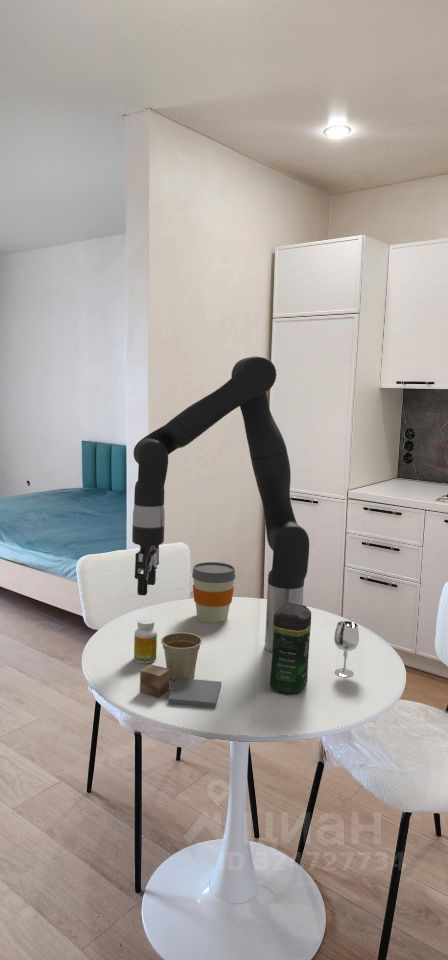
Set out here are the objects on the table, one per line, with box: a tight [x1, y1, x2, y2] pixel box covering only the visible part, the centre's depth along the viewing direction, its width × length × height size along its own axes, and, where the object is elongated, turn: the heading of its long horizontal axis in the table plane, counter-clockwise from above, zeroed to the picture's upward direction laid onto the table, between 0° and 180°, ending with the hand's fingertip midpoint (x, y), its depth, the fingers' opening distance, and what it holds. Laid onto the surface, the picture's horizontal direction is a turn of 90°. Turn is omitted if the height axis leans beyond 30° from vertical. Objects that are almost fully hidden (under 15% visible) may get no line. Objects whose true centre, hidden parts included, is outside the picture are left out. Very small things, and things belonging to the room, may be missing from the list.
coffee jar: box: [269, 603, 312, 696], centre depth 141 cm, size 10×8×19 cm
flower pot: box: [160, 632, 203, 682], centre depth 146 cm, size 9×9×9 cm
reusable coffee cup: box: [191, 561, 236, 624], centre depth 185 cm, size 13×13×15 cm
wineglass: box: [333, 620, 360, 678], centre depth 150 cm, size 6×6×12 cm
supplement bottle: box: [133, 618, 158, 664], centre depth 154 cm, size 5×5×10 cm
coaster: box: [167, 678, 222, 709], centre depth 137 cm, size 10×10×1 cm
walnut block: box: [139, 663, 171, 699], centre depth 138 cm, size 5×4×5 cm
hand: (146, 589), depth 152 cm, fingers open, 8 cm apart
